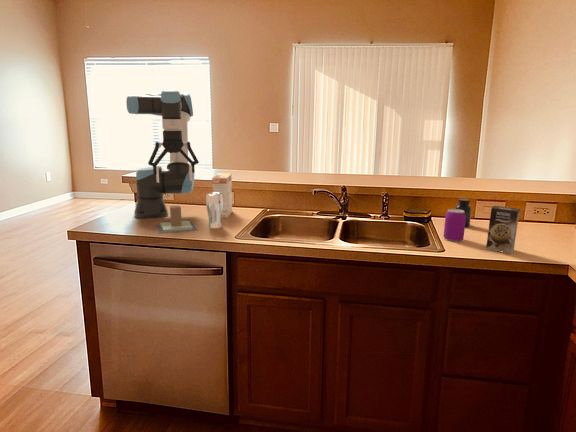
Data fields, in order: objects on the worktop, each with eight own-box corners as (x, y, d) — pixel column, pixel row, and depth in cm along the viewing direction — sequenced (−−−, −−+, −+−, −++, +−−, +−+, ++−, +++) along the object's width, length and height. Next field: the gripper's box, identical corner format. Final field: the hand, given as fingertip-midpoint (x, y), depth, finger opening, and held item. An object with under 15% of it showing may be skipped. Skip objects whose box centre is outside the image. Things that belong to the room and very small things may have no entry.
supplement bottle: (470, 224, 202) (473, 199, 199) (469, 227, 196) (472, 201, 193) (454, 222, 205) (456, 197, 202) (453, 226, 199) (455, 200, 196)
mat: (155, 225, 193) (155, 224, 193) (191, 222, 199) (191, 221, 199) (159, 234, 179) (158, 233, 179) (198, 231, 184) (198, 230, 184)
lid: (160, 225, 192) (159, 204, 190) (188, 222, 196) (187, 203, 194) (163, 231, 181) (162, 210, 179) (192, 229, 185) (191, 208, 183)
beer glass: (219, 230, 187) (219, 195, 183) (204, 229, 188) (203, 194, 185) (225, 226, 194) (224, 192, 190) (210, 225, 195) (209, 191, 191)
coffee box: (485, 249, 165) (490, 207, 161) (488, 245, 170) (493, 204, 166) (512, 254, 160) (518, 211, 156) (514, 249, 165) (520, 208, 161)
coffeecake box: (218, 211, 222) (217, 172, 218) (232, 211, 222) (232, 173, 218) (212, 218, 208) (211, 177, 203) (227, 218, 208) (226, 177, 203)
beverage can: (445, 241, 175) (448, 212, 172) (441, 236, 182) (444, 208, 179) (465, 242, 174) (468, 213, 171) (460, 237, 181) (463, 208, 178)
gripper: (140, 130, 171) (144, 184, 176) (204, 130, 180) (206, 181, 185) (139, 129, 178) (142, 181, 183) (200, 129, 187) (202, 178, 192)
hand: (174, 181), depth 184 cm, fingers open, 13 cm apart
